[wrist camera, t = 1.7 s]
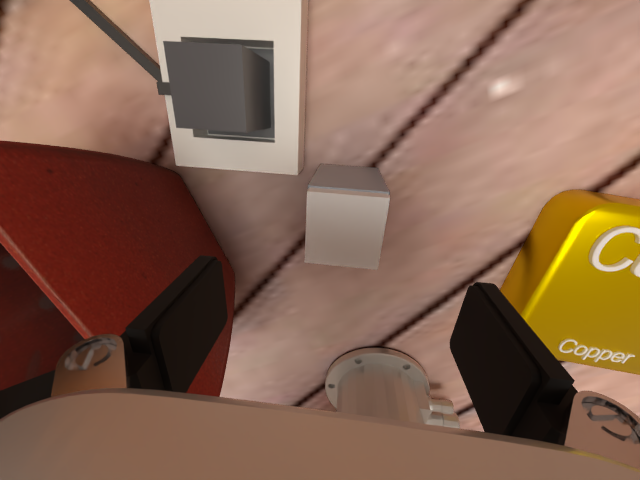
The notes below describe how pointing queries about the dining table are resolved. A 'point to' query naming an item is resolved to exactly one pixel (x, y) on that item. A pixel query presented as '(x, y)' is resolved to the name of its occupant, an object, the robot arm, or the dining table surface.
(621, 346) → the element tile
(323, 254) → the plug
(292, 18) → the power strip
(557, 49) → the dining table surface
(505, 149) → the dining table surface
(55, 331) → the plant pot
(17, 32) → the dining table surface
